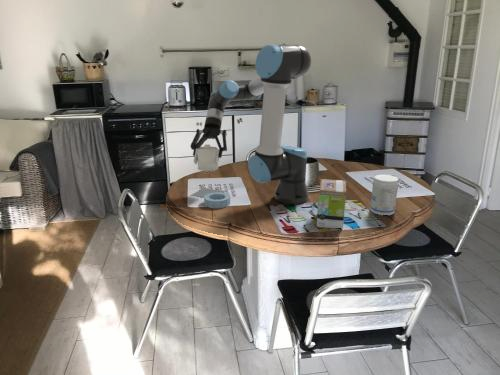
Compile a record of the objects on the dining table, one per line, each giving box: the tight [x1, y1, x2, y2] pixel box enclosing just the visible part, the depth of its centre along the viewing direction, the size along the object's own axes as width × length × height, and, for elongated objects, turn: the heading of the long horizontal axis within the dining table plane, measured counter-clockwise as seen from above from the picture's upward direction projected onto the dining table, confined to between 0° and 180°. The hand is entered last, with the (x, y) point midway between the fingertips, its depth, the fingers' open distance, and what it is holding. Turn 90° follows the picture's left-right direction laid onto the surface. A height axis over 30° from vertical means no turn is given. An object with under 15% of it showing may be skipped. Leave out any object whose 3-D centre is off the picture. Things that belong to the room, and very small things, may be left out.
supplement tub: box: [369, 174, 399, 216], centre depth 167 cm, size 10×10×15 cm
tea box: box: [316, 178, 347, 230], centre depth 158 cm, size 15×10×15 cm, turn 168°
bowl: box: [203, 192, 231, 209], centre depth 176 cm, size 11×11×4 cm
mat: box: [190, 187, 227, 199], centre depth 189 cm, size 12×12×1 cm
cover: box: [197, 144, 219, 172], centre depth 184 cm, size 9×9×11 cm
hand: (205, 163), depth 182 cm, fingers closed on cover, 9 cm apart
